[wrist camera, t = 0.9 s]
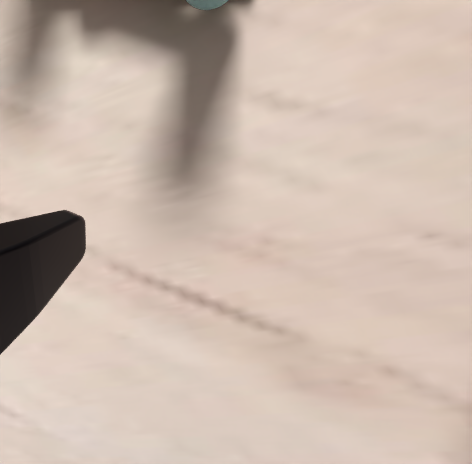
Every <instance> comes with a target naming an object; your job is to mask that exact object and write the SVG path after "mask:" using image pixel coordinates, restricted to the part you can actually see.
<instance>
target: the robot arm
mask: <svg viewBox="0 0 472 464" xmlns="http://www.w3.org/2000/svg"><path fill="white" fill-rule="evenodd" d="M85 249H86V235H85V220H84V218H83V217H81V216H80V215H77V214H75V213H72V212H70V211H67V210H62V211H57V212H52V213H47V214H43V215H38V216H33V217H29V218H24V219H19V220H15V221H10V222H5V223H1V224H0V354H1V353H2V352H3V351H4V350H5V349H6V348H7V347H8V346H9V345H10V344H11V343H12V342H13V341H14V340H15V339H16V338H17V337H18V336H19V335H20V334H21V333H22V332H23V331H24V329H25V328H26V327H27V326H28V325H29V324H30V323H31V322H32V321H33V320H34V319H35V318H36V317H37V316H38V314H39V313H40V312H41V311H42V310H43V308H44V307H45V306H46V305H47V303H48V302H49V301H50V299H51V298H52V297H53V296H54V294H55V293H56V292H57V290H58V289H59V288H60V287H61V285H62V284H63V283H64V281H65V280H66V279H67V278H68V276H69V275H70V274H71V272H72V271H73V270H74V269H75V267H76V266H77V265H78V263H79V262H80V261H81V259H82V258H83V256H84V253H85Z"/></svg>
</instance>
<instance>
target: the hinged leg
mask: <svg viewBox="0 0 472 464" xmlns="http://www.w3.org/2000/svg"><path fill="white" fill-rule="evenodd" d="M186 1H187V2H188V3H189V4H190V5H191V6H193V7H195V8H197V9H201V10H211V9H215V8H218V7H220V6H222V5H223V4H225V3H226V2H227V1H228V0H186Z"/></svg>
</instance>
